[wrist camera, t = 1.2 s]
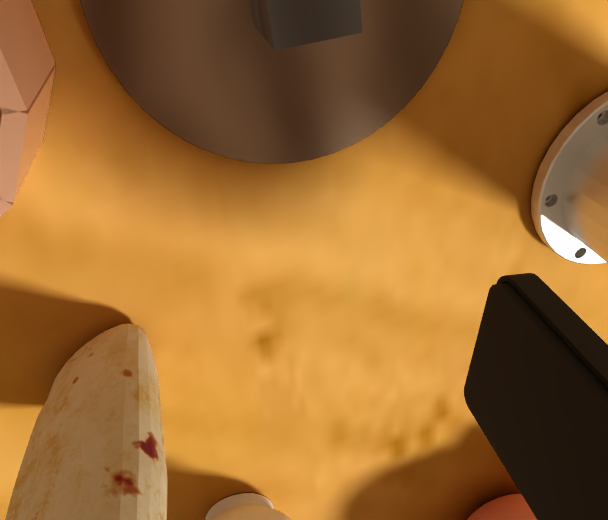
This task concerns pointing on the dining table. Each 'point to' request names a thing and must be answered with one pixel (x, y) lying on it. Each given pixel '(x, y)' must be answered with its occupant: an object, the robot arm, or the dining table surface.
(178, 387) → the dining table surface
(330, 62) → the lid
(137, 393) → the food model
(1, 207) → the bowl
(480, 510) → the balloon
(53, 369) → the dining table surface
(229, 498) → the teacup
